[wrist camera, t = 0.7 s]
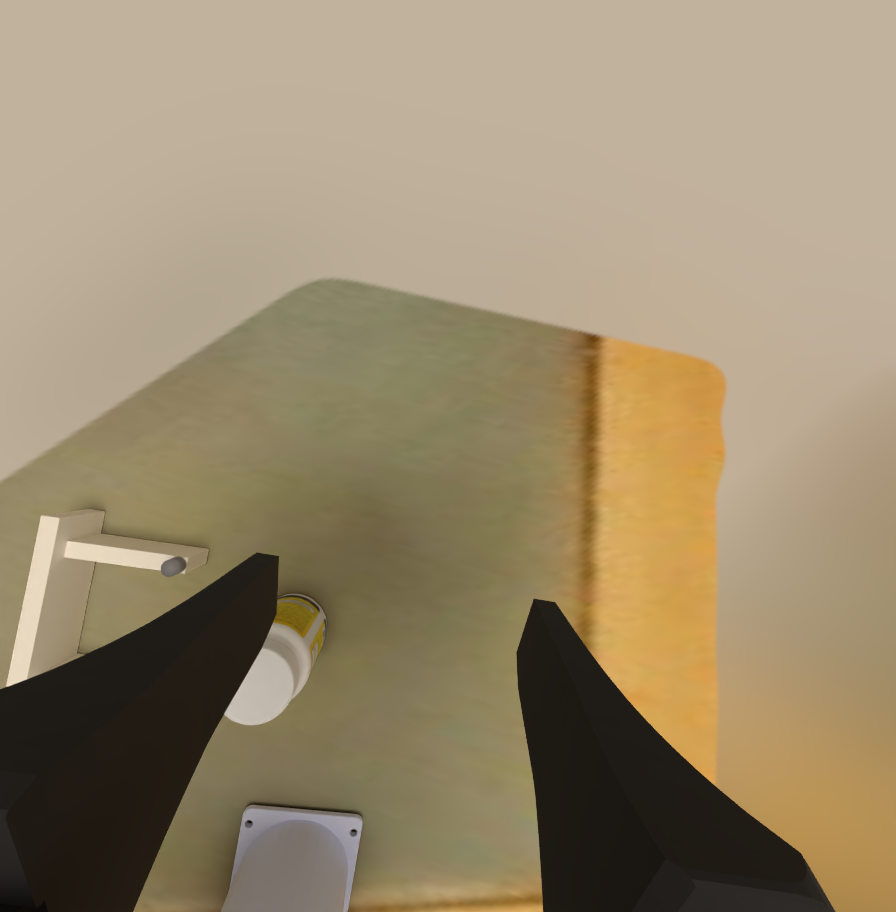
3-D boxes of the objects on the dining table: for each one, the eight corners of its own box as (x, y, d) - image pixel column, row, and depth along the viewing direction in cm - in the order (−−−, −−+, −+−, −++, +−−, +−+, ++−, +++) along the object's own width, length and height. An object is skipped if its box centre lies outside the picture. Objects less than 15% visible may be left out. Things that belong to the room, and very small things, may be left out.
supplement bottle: (246, 610, 31) (188, 664, 22) (310, 580, 31) (277, 622, 23) (275, 673, 31) (228, 750, 22) (339, 642, 31) (316, 706, 23)
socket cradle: (179, 703, 30) (145, 739, 26) (53, 689, 29) (-2, 724, 25) (213, 527, 30) (184, 536, 26) (89, 508, 30) (41, 515, 26)
